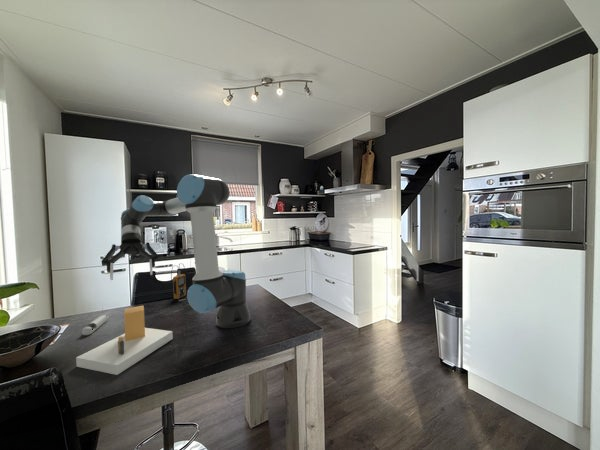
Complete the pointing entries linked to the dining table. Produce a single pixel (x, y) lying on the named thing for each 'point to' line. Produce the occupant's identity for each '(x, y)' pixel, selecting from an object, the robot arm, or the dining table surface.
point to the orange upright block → (134, 323)
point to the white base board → (123, 351)
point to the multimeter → (179, 285)
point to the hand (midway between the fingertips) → (132, 275)
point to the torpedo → (95, 324)
